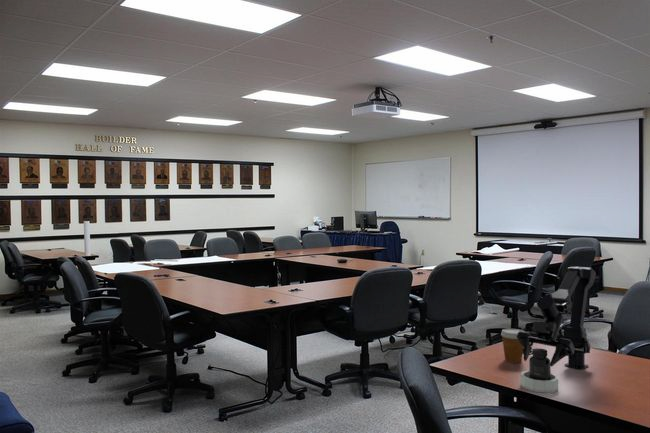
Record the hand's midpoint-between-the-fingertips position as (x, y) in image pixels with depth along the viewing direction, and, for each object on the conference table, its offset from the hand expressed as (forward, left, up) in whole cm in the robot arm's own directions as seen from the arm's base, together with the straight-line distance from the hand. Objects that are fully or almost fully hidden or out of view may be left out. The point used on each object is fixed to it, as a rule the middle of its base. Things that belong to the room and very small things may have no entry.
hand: (537, 362), depth 183 cm
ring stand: (-1, 0, -9) cm, 9 cm away
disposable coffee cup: (-22, -24, -9) cm, 34 cm away
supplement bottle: (-2, 0, -8) cm, 8 cm away
